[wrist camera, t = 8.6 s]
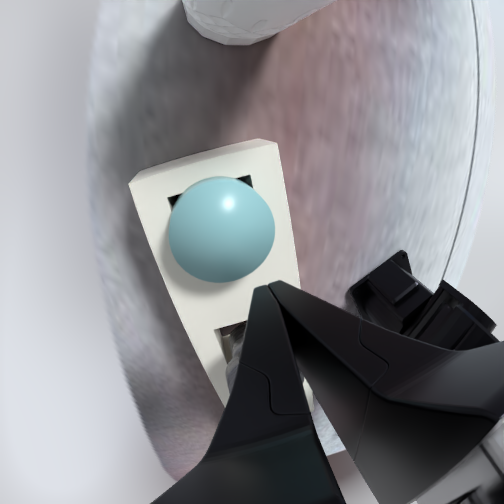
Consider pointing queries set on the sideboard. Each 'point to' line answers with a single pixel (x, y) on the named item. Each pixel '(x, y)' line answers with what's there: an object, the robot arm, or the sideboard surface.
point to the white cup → (247, 18)
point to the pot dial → (238, 354)
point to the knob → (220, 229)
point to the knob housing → (209, 293)
